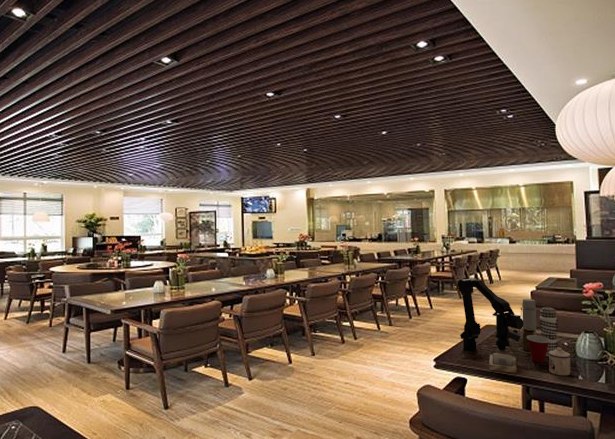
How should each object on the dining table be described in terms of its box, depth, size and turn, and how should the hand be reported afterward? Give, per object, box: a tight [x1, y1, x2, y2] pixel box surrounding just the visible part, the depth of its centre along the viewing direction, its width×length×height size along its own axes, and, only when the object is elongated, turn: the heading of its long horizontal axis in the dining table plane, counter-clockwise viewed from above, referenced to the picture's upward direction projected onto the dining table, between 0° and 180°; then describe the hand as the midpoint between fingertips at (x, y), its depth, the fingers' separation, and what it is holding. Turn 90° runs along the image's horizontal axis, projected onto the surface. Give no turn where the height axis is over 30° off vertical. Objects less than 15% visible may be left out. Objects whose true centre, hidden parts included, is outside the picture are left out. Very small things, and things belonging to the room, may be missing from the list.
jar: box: [495, 348, 510, 355], centre depth 222 cm, size 6×6×6 cm
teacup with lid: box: [548, 347, 571, 376], centre depth 205 cm, size 12×9×12 cm
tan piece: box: [488, 353, 518, 374], centre depth 217 cm, size 12×18×2 cm
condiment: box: [518, 328, 534, 354], centre depth 242 cm, size 7×8×12 cm
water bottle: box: [518, 298, 537, 335], centre depth 261 cm, size 9×8×25 cm
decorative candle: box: [538, 306, 559, 357], centre depth 235 cm, size 9×9×25 cm
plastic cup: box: [527, 334, 550, 364], centre depth 224 cm, size 11×11×12 cm
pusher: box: [492, 352, 513, 367], centre depth 217 cm, size 8×3×5 cm, turn 66°
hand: (502, 355), depth 227 cm, fingers closed
